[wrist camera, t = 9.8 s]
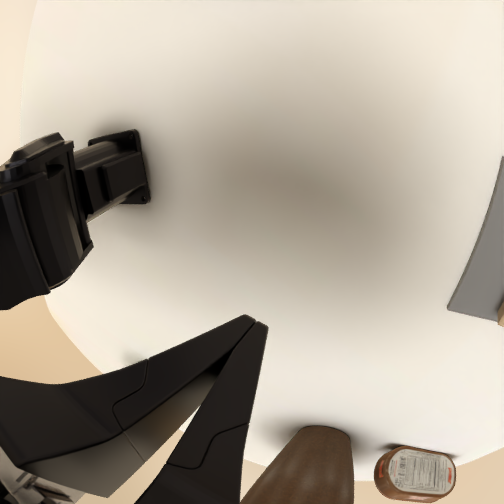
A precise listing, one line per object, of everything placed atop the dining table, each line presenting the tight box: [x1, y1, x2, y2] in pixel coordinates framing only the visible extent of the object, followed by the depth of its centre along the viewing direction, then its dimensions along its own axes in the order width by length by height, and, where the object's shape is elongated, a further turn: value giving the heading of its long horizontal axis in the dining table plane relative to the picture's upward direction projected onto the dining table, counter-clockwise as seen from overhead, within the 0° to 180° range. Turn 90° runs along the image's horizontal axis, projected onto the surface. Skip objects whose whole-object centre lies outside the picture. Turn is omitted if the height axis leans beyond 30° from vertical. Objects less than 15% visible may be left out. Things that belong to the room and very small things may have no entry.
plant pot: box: [240, 426, 354, 504], centre depth 28 cm, size 15×15×16 cm
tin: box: [374, 446, 456, 503], centre depth 26 cm, size 15×3×8 cm, turn 76°
